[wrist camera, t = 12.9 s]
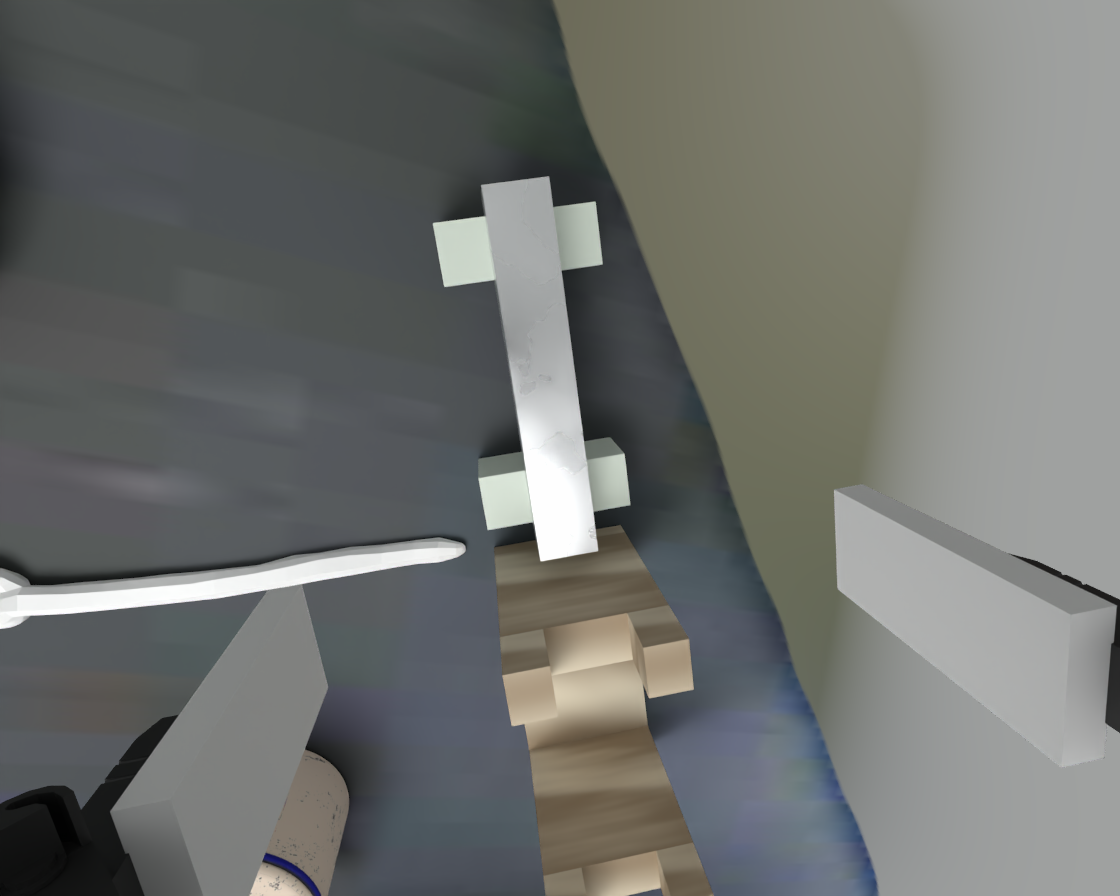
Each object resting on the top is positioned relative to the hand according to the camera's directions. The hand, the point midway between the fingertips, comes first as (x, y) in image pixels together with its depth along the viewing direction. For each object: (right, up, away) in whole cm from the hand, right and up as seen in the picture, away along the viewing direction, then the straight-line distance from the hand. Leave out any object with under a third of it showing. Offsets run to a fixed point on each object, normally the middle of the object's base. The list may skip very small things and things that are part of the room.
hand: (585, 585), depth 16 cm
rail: (-2, +7, +18) cm, 19 cm away
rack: (0, -10, +26) cm, 28 cm away
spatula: (-20, -3, +23) cm, 31 cm away
